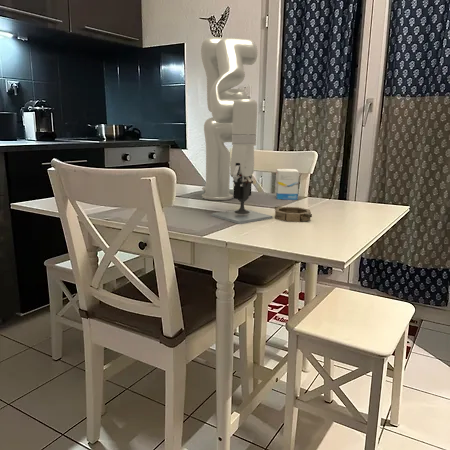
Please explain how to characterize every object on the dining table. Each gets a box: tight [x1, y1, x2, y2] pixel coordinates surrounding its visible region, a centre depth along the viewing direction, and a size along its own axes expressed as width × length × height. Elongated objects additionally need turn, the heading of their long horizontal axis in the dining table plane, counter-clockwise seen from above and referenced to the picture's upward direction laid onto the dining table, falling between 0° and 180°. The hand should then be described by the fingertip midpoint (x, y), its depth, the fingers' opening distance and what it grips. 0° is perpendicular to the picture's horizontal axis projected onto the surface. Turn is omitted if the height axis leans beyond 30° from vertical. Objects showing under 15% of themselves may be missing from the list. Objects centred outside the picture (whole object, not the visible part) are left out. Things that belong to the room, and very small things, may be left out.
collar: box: [274, 206, 313, 223], centre depth 141 cm, size 15×11×2 cm
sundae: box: [232, 175, 254, 214], centre depth 138 cm, size 7×7×15 cm
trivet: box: [211, 208, 274, 225], centre depth 141 cm, size 14×14×1 cm
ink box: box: [274, 168, 300, 201], centre depth 177 cm, size 9×8×12 cm
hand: (242, 196), depth 139 cm, fingers closed on sundae, 6 cm apart
